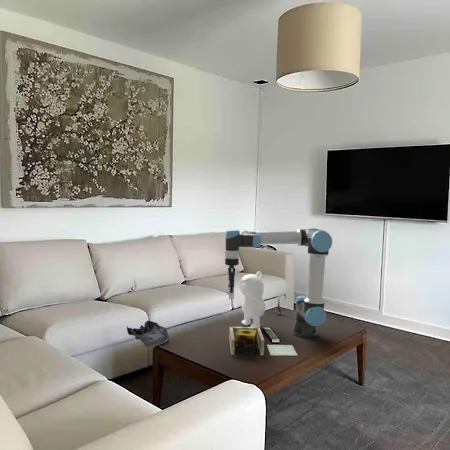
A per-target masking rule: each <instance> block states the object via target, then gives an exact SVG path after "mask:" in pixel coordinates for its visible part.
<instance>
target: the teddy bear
mask: <svg viewBox="0 0 450 450" xmlns="http://www.w3.org/2000/svg"><path fill="white" fill-rule="evenodd" d="M262 278H263V272H262V271H259V270H258V271H257V272H256V273H255V274H253V273H250V274H246V275H243V277H242V278H241V279H240V281H239V289H240V292H241V294H242V295H243V296H244V298H243V301H242V303H241V310H242V313H243V314H244V315H243V320H241V325H242V326H244V327H248V326H249V327H260V328H261V324H260V323H261V318H260V317H262V316H263V315H264V314H265V312H266V303H265V301H264V298H263V295H264V291H265V290H264V289H265V284H264V282H263V280H262ZM251 320H252V321H251ZM251 322H252V323H251Z"/></svg>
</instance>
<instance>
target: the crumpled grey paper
mask: <svg viewBox="0 0 450 450" xmlns="http://www.w3.org/2000/svg"><path fill="white" fill-rule="evenodd" d="M126 331H127V334H128V336H133V337H134V338H135V339H136V341H137V340H140V341H141V343H143V344H144V346H145V347H147V348H148V347H151V346H155V345H160V344H163V343H164V342H165V341H166V340H167V341H170V336H169V333H168V329H167V327H164V326H161V325H159V323H158V322H156V321H155V322H154V321H152V320H147V321H145V322H144V325H143V324H141V325H140V327H139V328H135V327H134V328H132V327H128V326H126Z"/></svg>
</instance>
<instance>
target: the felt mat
mask: <svg viewBox="0 0 450 450" xmlns="http://www.w3.org/2000/svg"><path fill="white" fill-rule="evenodd" d="M266 347H267V349H268V353H269V355H270V356H271V357H274V356H276V357H298V353H297V352H296V349H295V348H294V346H293V345H292V344H266Z"/></svg>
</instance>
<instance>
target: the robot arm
mask: <svg viewBox="0 0 450 450" xmlns="http://www.w3.org/2000/svg"><path fill="white" fill-rule="evenodd" d="M261 245H297V246H304V247H307V254H308V255H309V264H308V265H309V266H308V276H307V278H308V279H307V288H306V289H307V290H306V295H299V296H297V297H296V300H295V320H294V323H293V326H292V327H291V334H292V335H293V336H296V337H297V338H298V337H299V338H303V339H304V338H305V339H307V338H309V339H310V338H311V339H312V338H315V337H317V336H318V329H317V327H318V326H321V325H323V323H324V322H326V319H327V313H326V309H325V301H324V299H323V291H324V279H325V267H326V266H325V265H326V257H327V256H329V254H330V253H329V251H330V249H331V248H332V245H333V238H332V236H331V234H330V233H329V232H327V231H325V230H323V229H318V228H303V229H302V228H301V229H297V230H296V231H295V230H294V231H293V230H292V231H290V230H288V231H287V230H284V231H283V230H282V231H281V230H280V231H278V230H277V231H276V230H275V231H274V230H273V231H271V230H270V231H269V230H268V231H264V230H263V231H260V230H259V231H248V230H244V231H241V232H240V230H239V229H227V230H226V233H225V251H224V252H223V253H224V255H225V256H224V257H225V258H224V264H225V266H228V268H227V272H228V285H227V287H228V290H227V293H228V299H229V300H231V299H232V300H234V298H235V276H236V266H238V265H239V264H240V262H239V260H240V259H239V257H240V255H239V254H240V248H260V247H261Z"/></svg>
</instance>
